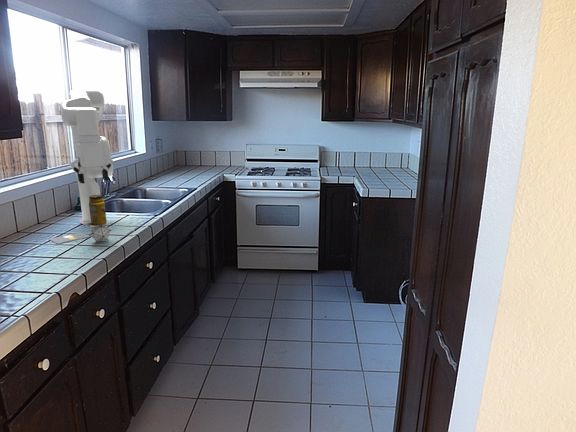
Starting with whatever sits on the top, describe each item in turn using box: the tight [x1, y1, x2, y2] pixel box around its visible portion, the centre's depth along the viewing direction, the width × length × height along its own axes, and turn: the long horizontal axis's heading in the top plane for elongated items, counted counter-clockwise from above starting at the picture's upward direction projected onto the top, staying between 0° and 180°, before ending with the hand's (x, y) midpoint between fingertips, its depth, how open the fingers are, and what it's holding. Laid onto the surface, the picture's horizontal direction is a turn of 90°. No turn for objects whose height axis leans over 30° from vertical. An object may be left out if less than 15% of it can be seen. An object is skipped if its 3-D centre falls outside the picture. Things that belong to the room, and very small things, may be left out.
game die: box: [88, 224, 112, 244], centre depth 181 cm, size 9×8×10 cm
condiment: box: [82, 194, 111, 228], centre depth 178 cm, size 7×8×12 cm
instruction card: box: [48, 231, 92, 245], centre depth 186 cm, size 10×14×1 cm
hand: (93, 181), depth 176 cm, fingers open, 9 cm apart
